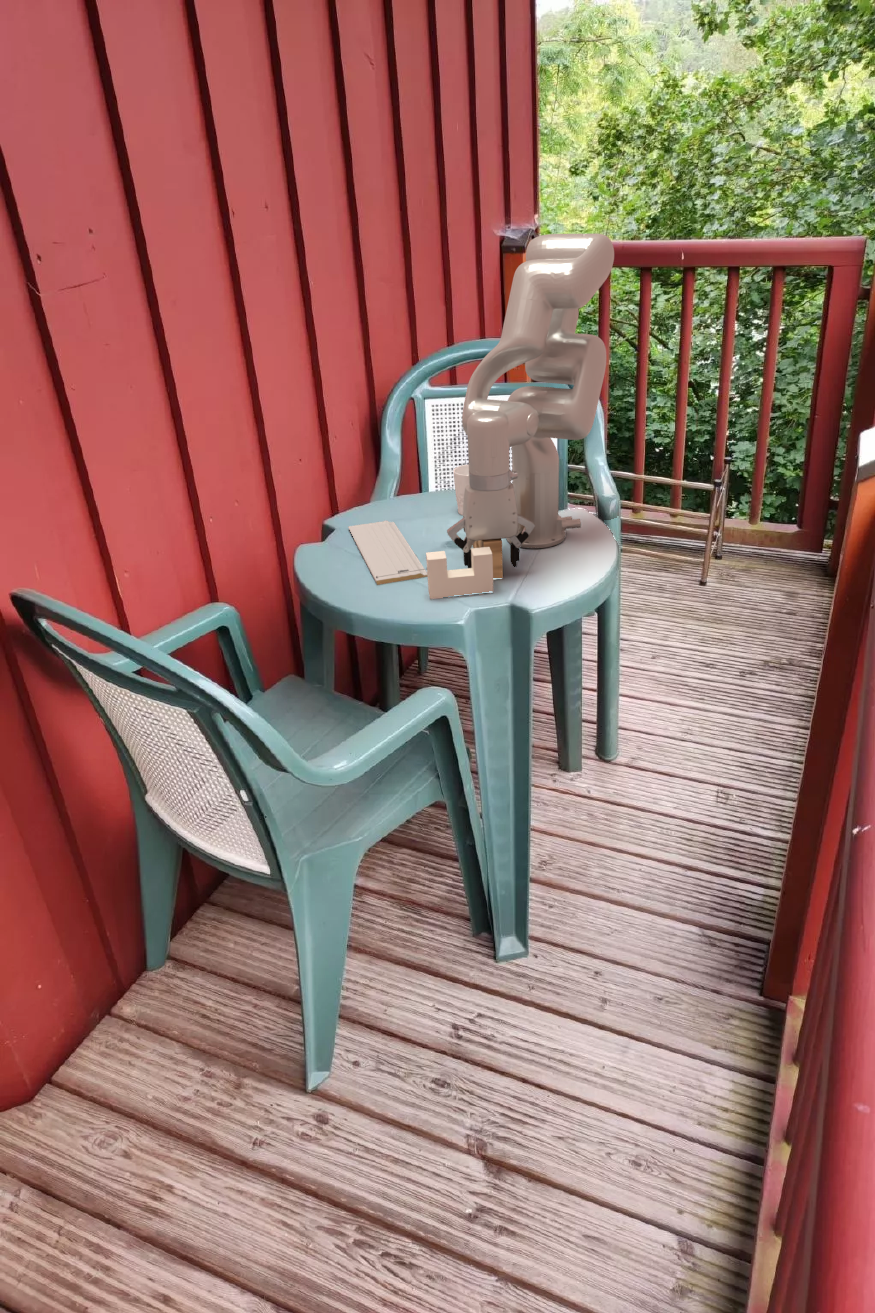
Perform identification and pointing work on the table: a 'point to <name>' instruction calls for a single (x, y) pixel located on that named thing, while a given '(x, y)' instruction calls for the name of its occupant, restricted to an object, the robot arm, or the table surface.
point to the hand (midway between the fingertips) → (491, 566)
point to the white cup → (461, 484)
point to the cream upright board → (459, 574)
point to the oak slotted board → (493, 554)
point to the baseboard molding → (387, 552)
